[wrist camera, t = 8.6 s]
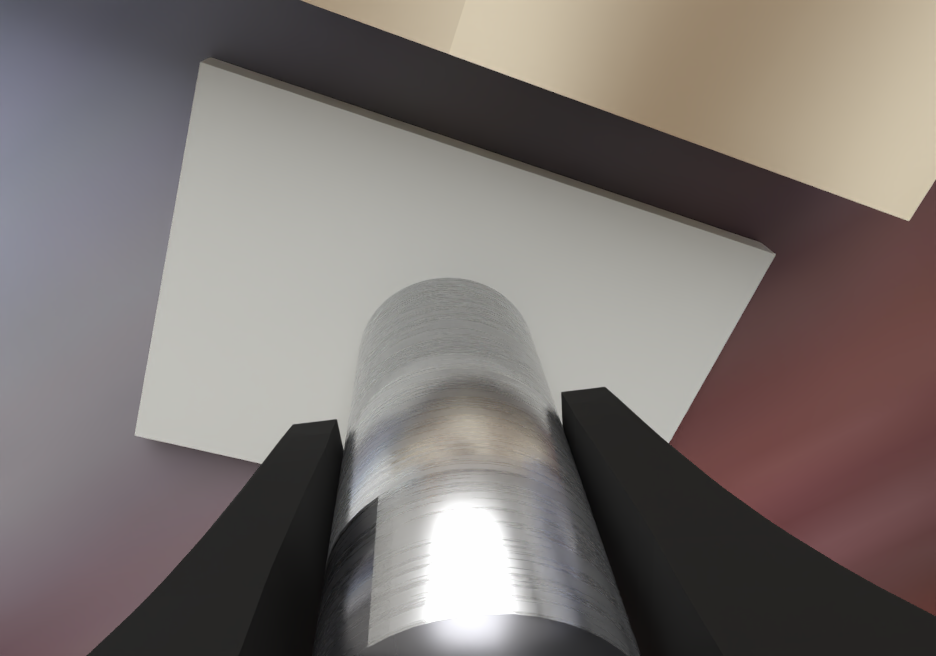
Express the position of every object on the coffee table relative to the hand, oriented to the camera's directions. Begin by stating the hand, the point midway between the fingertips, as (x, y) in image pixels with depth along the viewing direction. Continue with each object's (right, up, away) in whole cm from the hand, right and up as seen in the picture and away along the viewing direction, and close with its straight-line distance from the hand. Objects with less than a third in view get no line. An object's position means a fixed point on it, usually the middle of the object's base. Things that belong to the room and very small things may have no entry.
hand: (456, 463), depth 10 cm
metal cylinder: (0, +1, +2) cm, 3 cm away
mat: (0, +2, +4) cm, 4 cm away
